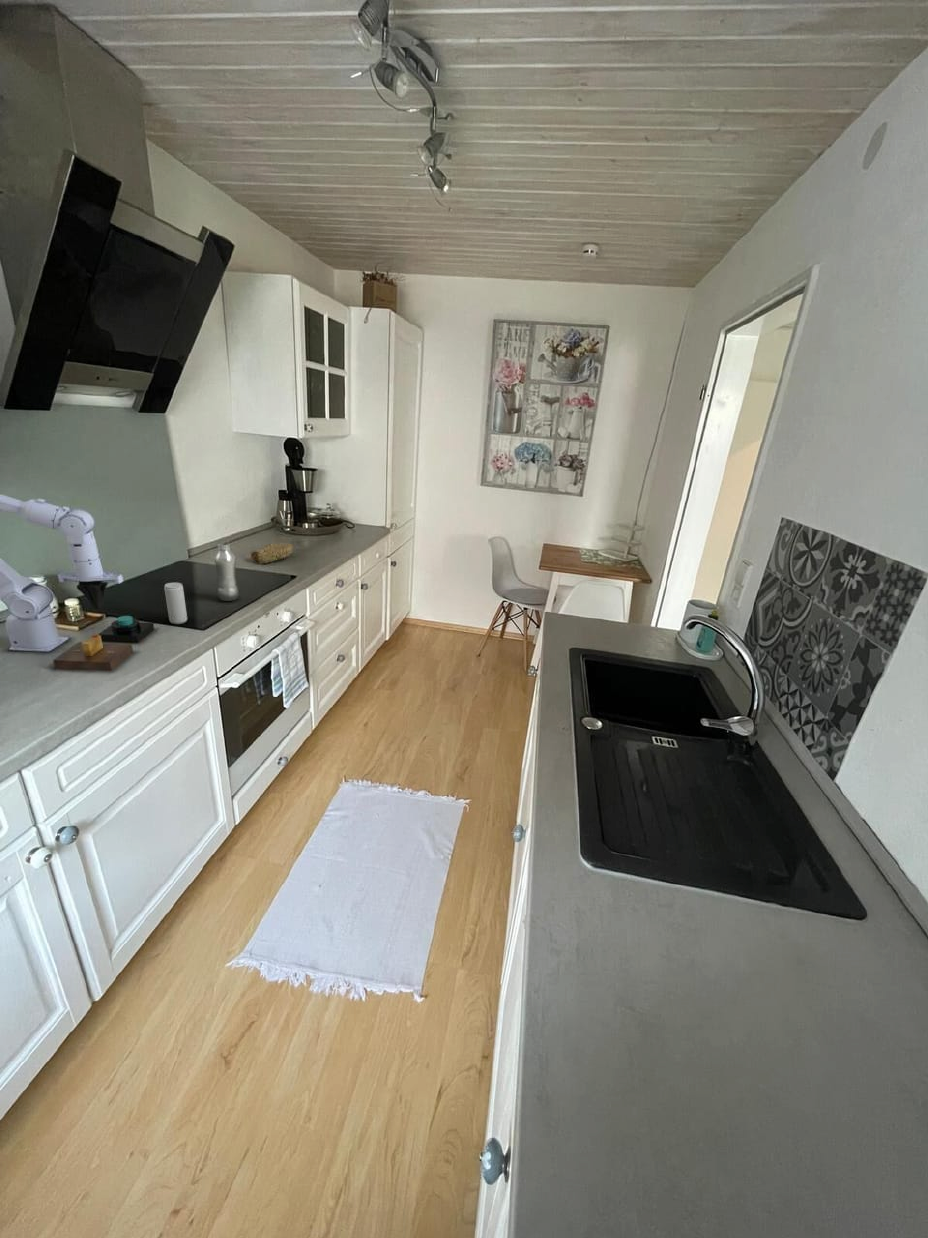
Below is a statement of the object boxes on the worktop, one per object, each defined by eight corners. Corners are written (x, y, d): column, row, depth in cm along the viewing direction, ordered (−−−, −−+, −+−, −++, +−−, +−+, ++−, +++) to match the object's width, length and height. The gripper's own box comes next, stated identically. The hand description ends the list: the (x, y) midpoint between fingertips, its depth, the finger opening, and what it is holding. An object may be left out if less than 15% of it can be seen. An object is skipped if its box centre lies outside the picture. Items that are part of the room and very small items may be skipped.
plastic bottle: (213, 600, 167) (207, 543, 159) (229, 594, 173) (224, 540, 165) (228, 604, 165) (222, 547, 157) (243, 598, 171) (238, 543, 163)
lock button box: (99, 641, 134) (96, 628, 132) (118, 627, 142) (115, 615, 140) (138, 643, 135) (135, 630, 133) (154, 629, 143) (152, 617, 142)
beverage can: (179, 625, 147) (174, 588, 142) (165, 623, 148) (160, 586, 143) (191, 620, 151) (186, 583, 147) (177, 617, 152) (172, 581, 147)
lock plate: (55, 668, 119) (52, 659, 118) (81, 650, 129) (78, 641, 127) (111, 671, 121) (109, 661, 120) (133, 652, 130) (131, 643, 129)
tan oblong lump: (265, 569, 204) (304, 552, 217) (258, 552, 201) (298, 536, 214) (249, 566, 213) (288, 551, 226) (243, 550, 209) (282, 535, 222)
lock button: (115, 626, 135) (114, 620, 134) (122, 621, 138) (121, 615, 138) (128, 626, 136) (127, 621, 135) (135, 621, 139) (134, 616, 138)
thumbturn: (91, 656, 122) (88, 643, 120) (84, 656, 121) (81, 642, 120) (103, 647, 126) (100, 634, 125) (96, 647, 126) (93, 634, 124)
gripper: (124, 555, 128) (135, 602, 134) (65, 553, 127) (79, 601, 132) (109, 563, 122) (121, 612, 128) (46, 561, 121) (61, 611, 126)
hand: (98, 607), depth 130 cm, fingers closed
